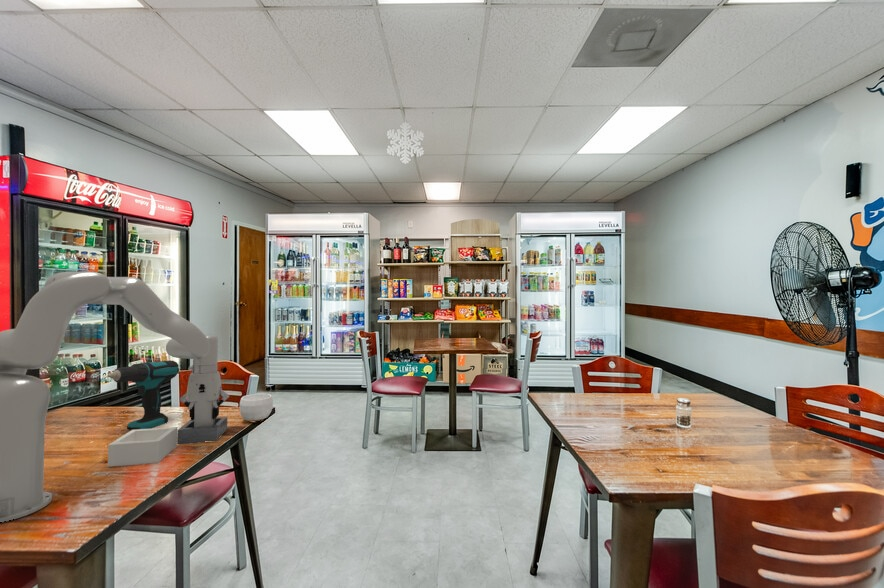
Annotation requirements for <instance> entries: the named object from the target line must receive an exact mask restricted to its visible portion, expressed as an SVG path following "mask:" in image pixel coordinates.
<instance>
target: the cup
mask: <svg viewBox="0 0 884 588" xmlns="http://www.w3.org/2000/svg"><path fill="white" fill-rule="evenodd" d="M273 404H274V400H273V397H272V394H270V393H263V392H262V393H251V394H247V395H243V396H242V397H241V398H240V401H239V412H240V416H241V418H242V419H243V420H244V421H245V420H246V421H248V422H249V421H260V420H261V421H260V422H262V421H264V419H267V418H268V417H269V416H270V414H271V412H272V410H273V407H274V405H273Z"/></svg>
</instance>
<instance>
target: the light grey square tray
mask: <svg viewBox="0 0 884 588" xmlns="http://www.w3.org/2000/svg"><path fill="white" fill-rule="evenodd" d="M178 429H179V428H178V426H174V427H172V426H171V427H154V428H151V429H141V428H136V429H131V430H130V431H128V432H127V433H125V434H122V436H120V437H119V438H117V439H115V440H114V441H112V442H110V443H109V444H107V445H108V446H107V468H110V467H120V466H121V467H123V466H134V465H136V466H137V465H146V464H156V463H157V464H158V463H160V462H161V461H162V460H163V459H165V458H166V457H167V456H168V455H169V454H170V453H172V452H173V450H175V449H176V448H177V447H178V445H177V437H178Z"/></svg>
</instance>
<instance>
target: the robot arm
mask: <svg viewBox="0 0 884 588" xmlns="http://www.w3.org/2000/svg"><path fill="white" fill-rule="evenodd" d="M86 305H110V306H111V305H118V306H121V307H122V308H124V309H125V310H126V311H127V313H129V314H130V315H131V316H132V317H133V318H134V319H135V320H136V321H137V322H138V323H139V324H140V325H141V326H142V327H143V328H145V329H147V330H149V331H152V332H153V333H157V334H160V335H162V336H165V337H168V338H170V339H169V340H168V341H167V342H166V345H165V351H166V353H167V354H168V355H169V356H171V357H172V358H174V359H175V358H177V359H188V360H192V365H191V366H190V365H189V366H188V368H187V369H188V371H191V373H190V374H189V377H188V381H187V389H186V392H185V394H183V395H182V396H181V397H179V401H180V402H181V403H182V404H184V405H185V406H186V407H187V409H188V410H189V418H190V420H191V421H193V420H194V405H195V402H198V400H199V395H201V394H199V392H200V391H201V390H199V387H200V384H204V385H205V386H204V387H205V389H204V392H206V393H205V401H207V402H210V401H212V403H213V405H214V408H213V415H212V419H216V418H217V417H218V416H219V415H220V406H221V405H222V404H223V403H224V402H225V401H226V400H227V399H229V397H230V395H229V394H228V393H226V391H224V390H223V389H222V379H221V374H220V371H218V359H219V357H218V352H219V350H218V347H219V345H218V344H219V338H218V336H217V335H215V334H204V333H203V332H202V330H201V329H200V328H198V326H196V325H195V324H194V323H192V322H191V321H189V320H187V319H186V318H184V317H183V316H181V315H180V314H178V313H176V312H174V311H172V310H171V309H170V308H169V307H168V305H166V304H165V303H164V301H163V300H161V298H160V297H158V295H157V294H156V293H155V292H154V291H153V290H152V288H150V287H149V285H147V284H146V283H145V282H144V281H143V280H142V279H140V278H138V277H133V276H106V275H105V274H103V273H100V272H96V271H87V270H86V271H84V270H83V271H62V272H57V273H54V274H52V275H51V276H49V277H48V278H47V279H46V280H45V282H44V287H43V288H41V289H40V290H38V291H37V292H36V293H35V294H34V295H33V296H32V297H31V298H30V299H29V301H28V303H27V304H26V305H25V307H24V309H23V312H22V314H21V316H20V318H19V320H18V322H17V325H16V327H15V328H10V329H5V330H2V331H0V522H2V523H5V522H4V521H6V522H10V521H9V520H11V521H14V520H17V519H20V518H23V517H26V516H29V515H31V514H34V513H36V512H38V511H40V510H41V509H43V508H45V507H46V506H48V505H49V504H50V503H51V502H52V500H53V494H52V493H51V492H49V491H44V475H45V474H44V471H45V469H44V468H45V464H44V463H45V433H46V432H45V431H46V419H47V418H46V417H47V413H48V409H49V405H50V401H51V390H50V386H49V385H48V384H47V382H46V381H44V380H43V379H41V378H39V377H37V376H33V375H29V374H27V372H28V370H37V369H42V368H45V367H47V366H49V365H51V364H52V363H53V362H54V361H55V360H56V359H57V357H58V355H59V351H60V349H61V346H62V344H63V340H64V337H65V334H66V332H67V329H68V326H69V324H70V321H72V320H71V319H72V318H73V316H74V315H75V314H76V313H77V311H79V309H81V308H83V306H86ZM196 384H197V385H196ZM202 391H203V390H202ZM203 395H204V394H203ZM221 397H222V398H221ZM220 398H221V399H220ZM219 399H220V400H219ZM13 519H14V520H13Z"/></svg>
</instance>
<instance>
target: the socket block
mask: <svg viewBox="0 0 884 588" xmlns="http://www.w3.org/2000/svg"><path fill="white" fill-rule="evenodd" d="M226 429H227V430H228V416H220V417H218V416H217V418H216V419H215V423H214V426H210V427H195V428H194V420H193V421H191V419H190V420H189V421H187V422H186V423H185V424H183V425H181V426H180V427H179V428H177V444H179V445H189V444H190V443H193V444H199V443H198V442H205V441H217V439H218V438H219V437H220V436H221V435H222V434H223V433H224V432H225V430H226ZM225 433H226V432H225ZM225 433H224V434H225ZM224 434H223V435H224ZM223 435H222V436H223ZM222 436H221V437H222ZM221 437H220V438H221ZM220 438H219V439H220ZM217 442H218V441H217ZM190 445H191V444H190Z"/></svg>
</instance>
